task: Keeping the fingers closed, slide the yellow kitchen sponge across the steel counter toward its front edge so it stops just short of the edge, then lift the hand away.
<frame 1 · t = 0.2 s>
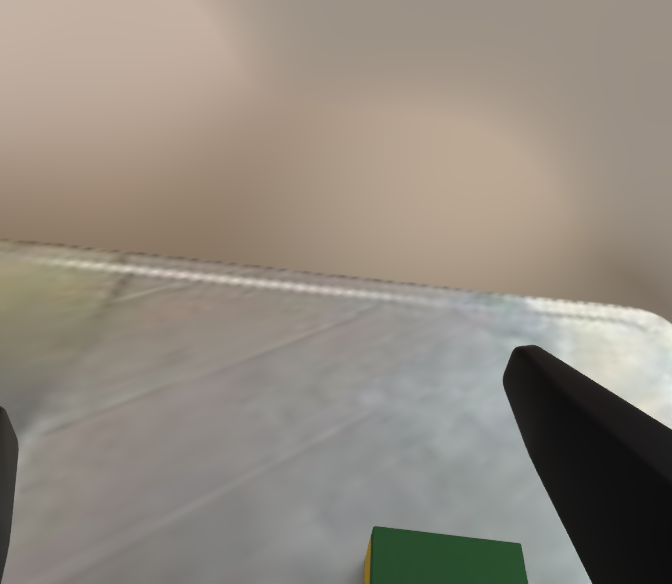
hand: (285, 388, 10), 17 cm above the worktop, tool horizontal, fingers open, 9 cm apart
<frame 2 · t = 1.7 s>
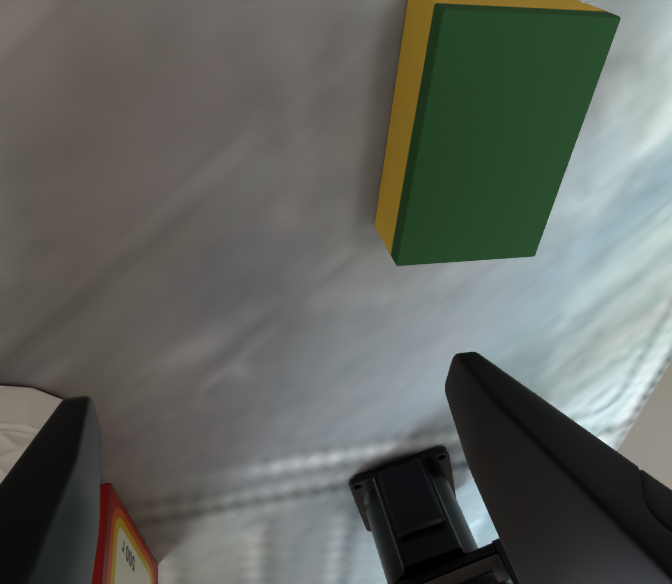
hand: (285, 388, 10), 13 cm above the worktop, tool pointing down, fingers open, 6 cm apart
white cup: (10, 430, 26), on the worktop
baking soda box: (79, 539, 33), on the worktop
sponge: (462, 122, 22), on the worktop
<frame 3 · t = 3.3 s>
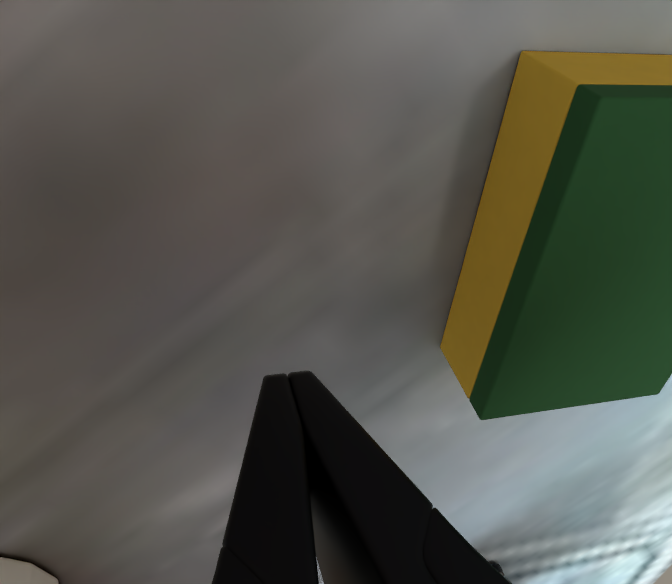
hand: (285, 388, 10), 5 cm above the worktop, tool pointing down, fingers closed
sponge: (569, 220, 16), on the worktop
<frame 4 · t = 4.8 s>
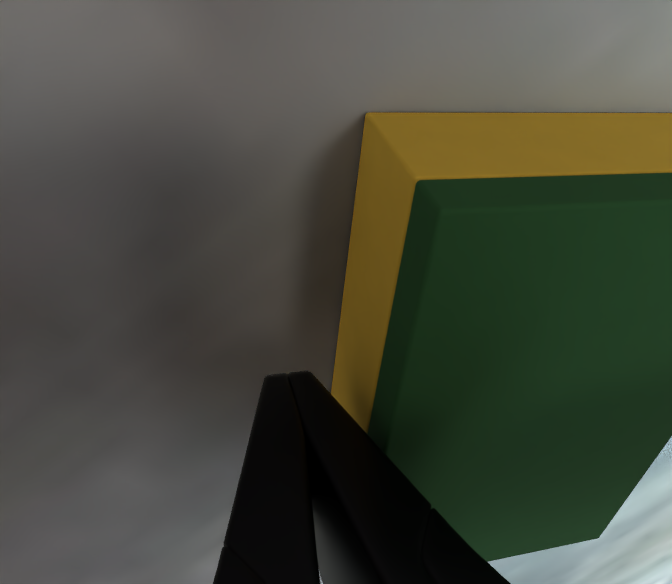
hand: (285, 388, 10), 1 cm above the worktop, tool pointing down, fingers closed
sponge: (474, 320, 12), on the worktop, touching gripper
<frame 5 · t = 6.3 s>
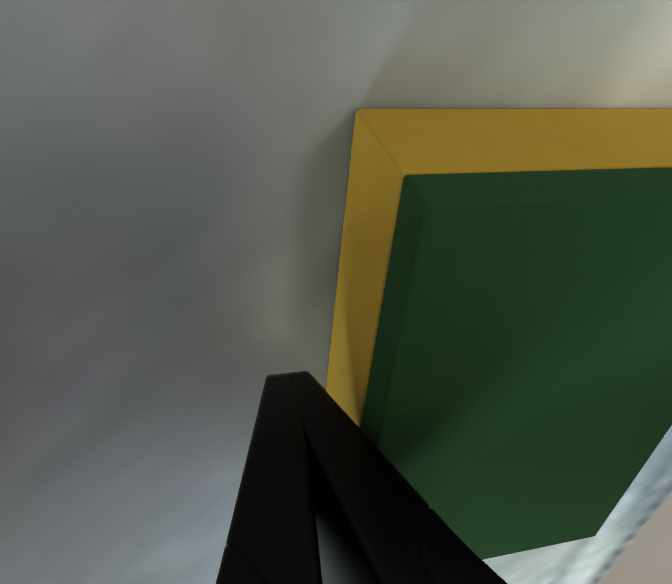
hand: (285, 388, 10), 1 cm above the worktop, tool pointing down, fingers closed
sponge: (468, 318, 12), on the worktop, touching gripper
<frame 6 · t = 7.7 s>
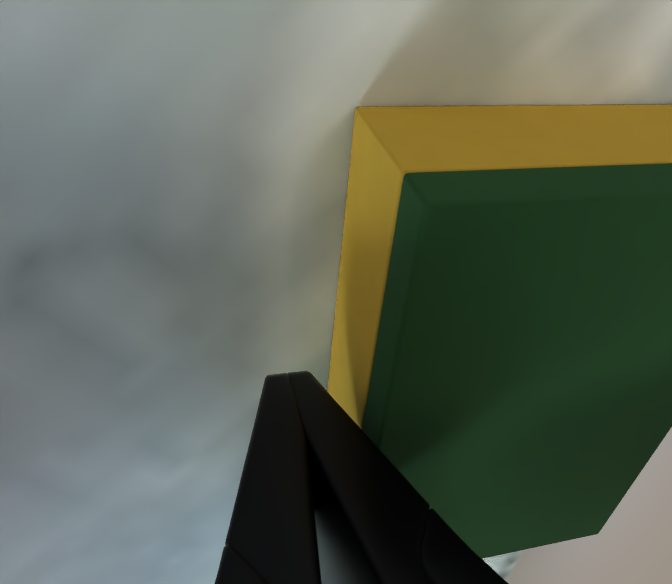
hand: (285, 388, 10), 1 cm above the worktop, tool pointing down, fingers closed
sponge: (470, 316, 12), on the worktop, touching gripper
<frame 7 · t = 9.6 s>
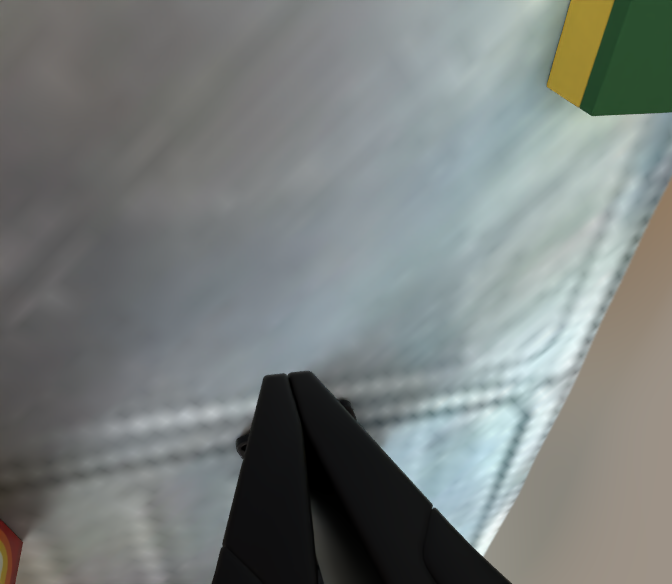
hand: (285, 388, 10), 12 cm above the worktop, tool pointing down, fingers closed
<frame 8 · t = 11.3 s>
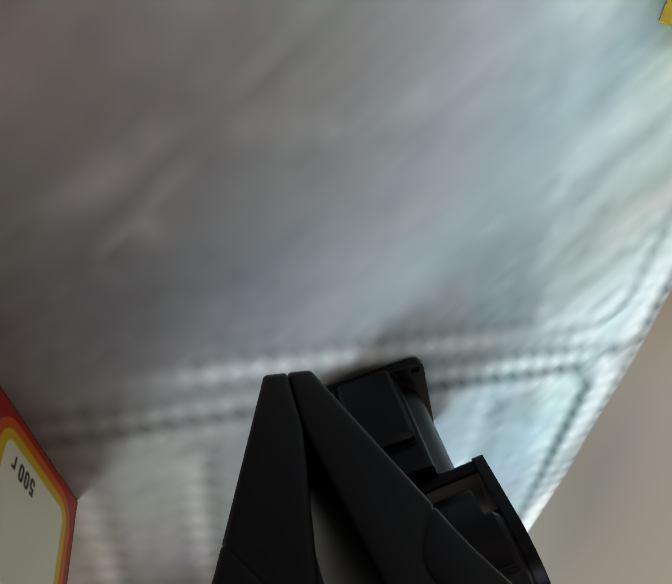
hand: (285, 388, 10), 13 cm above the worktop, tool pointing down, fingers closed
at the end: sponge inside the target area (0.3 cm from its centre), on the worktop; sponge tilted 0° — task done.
